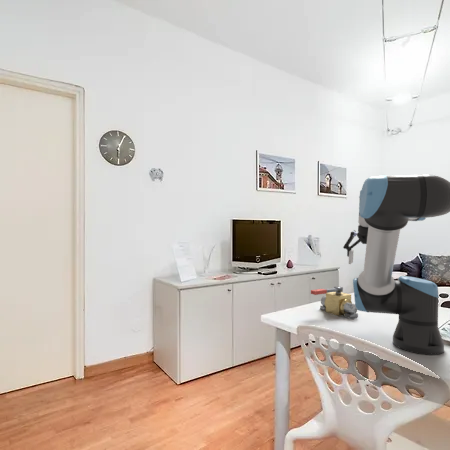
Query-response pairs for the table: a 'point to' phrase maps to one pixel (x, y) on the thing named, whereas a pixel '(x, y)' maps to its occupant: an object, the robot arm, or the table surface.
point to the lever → (326, 290)
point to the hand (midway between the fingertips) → (365, 267)
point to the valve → (339, 304)
